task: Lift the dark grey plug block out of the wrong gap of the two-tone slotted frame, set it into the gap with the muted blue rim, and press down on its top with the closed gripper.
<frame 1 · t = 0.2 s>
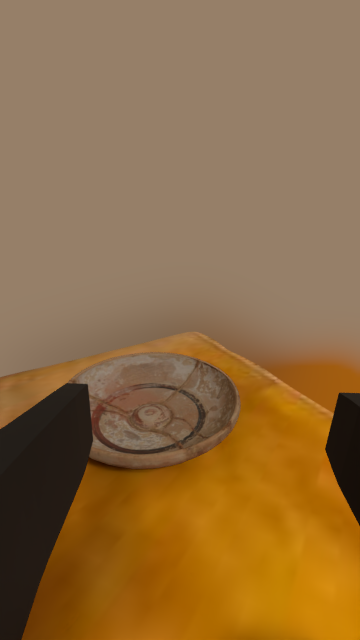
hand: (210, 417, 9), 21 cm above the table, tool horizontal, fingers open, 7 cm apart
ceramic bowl: (151, 422, 42), on the table
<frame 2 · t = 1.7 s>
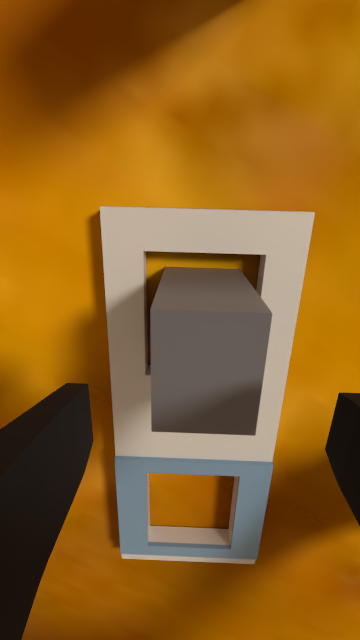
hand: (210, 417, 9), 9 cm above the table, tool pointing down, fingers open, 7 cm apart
plug: (200, 311, 18), resting in two-tone slotted frame
two-tone slotted frame: (194, 414, 20), on the table
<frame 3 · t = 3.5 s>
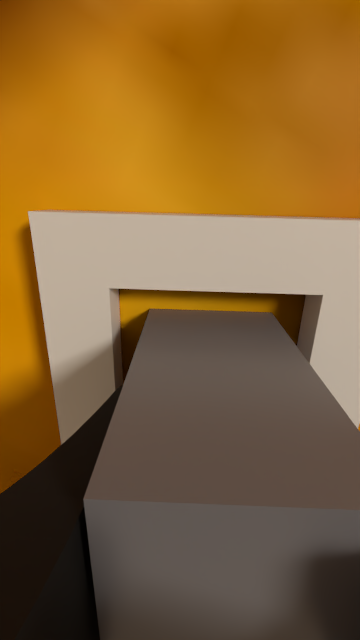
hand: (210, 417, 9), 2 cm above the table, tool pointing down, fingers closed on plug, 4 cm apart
plug: (206, 376, 11), resting in two-tone slotted frame, touching gripper
two-tone slotted frame: (197, 515, 14), on the table
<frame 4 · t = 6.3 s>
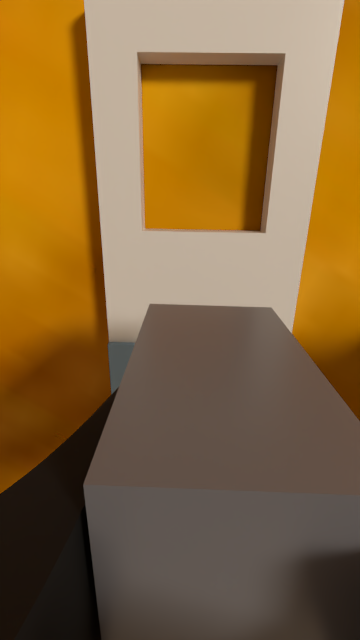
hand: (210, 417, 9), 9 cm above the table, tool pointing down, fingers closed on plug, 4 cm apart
plug: (206, 371, 11), point 7 cm above the table, touching gripper
two-tone slotted frame: (199, 294, 17), on the table
when the fingers open (3 cm above the table, at t = 9.3 s): plug drops 1 cm, resting in two-tone slotted frame.
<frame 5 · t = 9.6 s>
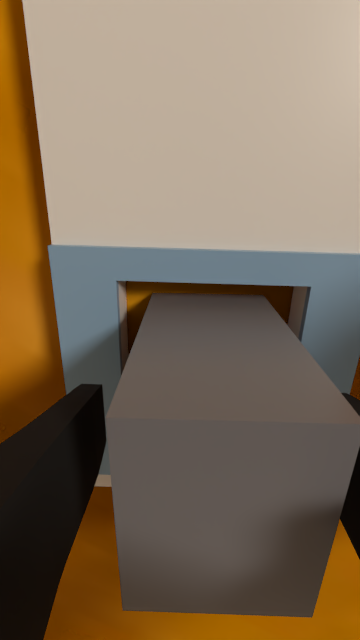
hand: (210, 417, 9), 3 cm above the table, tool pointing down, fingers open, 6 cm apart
plug: (204, 355, 12), resting in two-tone slotted frame
two-tone slotted frame: (216, 162, 10), on the table
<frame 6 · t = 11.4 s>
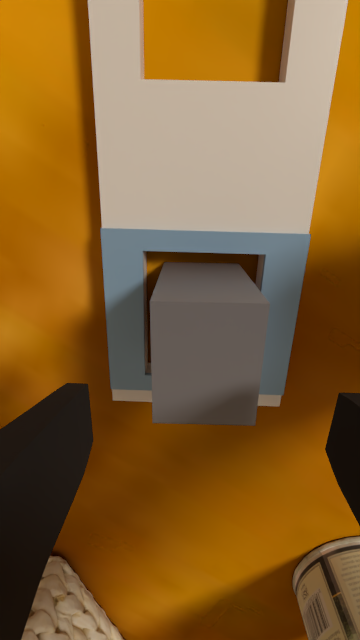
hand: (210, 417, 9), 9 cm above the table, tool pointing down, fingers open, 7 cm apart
storage basket: (49, 628, 30), on the table
coffee can: (353, 573, 26), on the table
plug: (199, 306, 18), resting in two-tone slotted frame
two-tone slotted frame: (206, 175, 15), on the table
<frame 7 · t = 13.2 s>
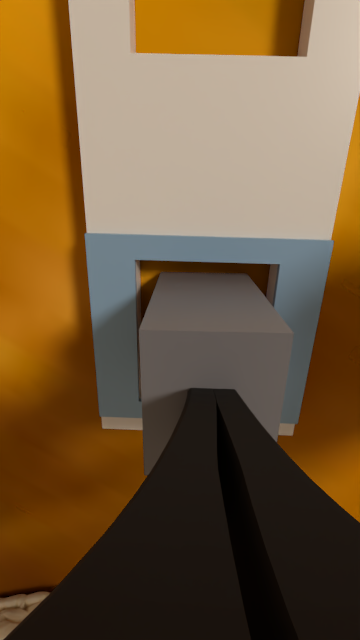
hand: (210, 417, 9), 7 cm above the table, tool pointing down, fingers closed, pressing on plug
plug: (201, 322, 15), resting in two-tone slotted frame, touching gripper
two-tone slotted frame: (209, 171, 13), on the table
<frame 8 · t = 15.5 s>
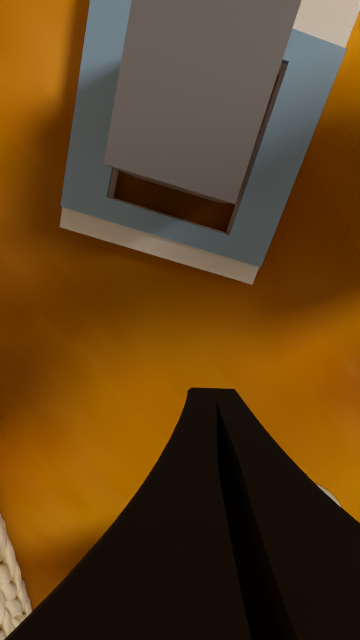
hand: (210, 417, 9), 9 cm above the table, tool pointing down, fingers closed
plug: (191, 135, 15), resting in two-tone slotted frame
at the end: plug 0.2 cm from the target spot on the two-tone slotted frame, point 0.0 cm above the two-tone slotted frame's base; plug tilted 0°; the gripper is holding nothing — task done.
